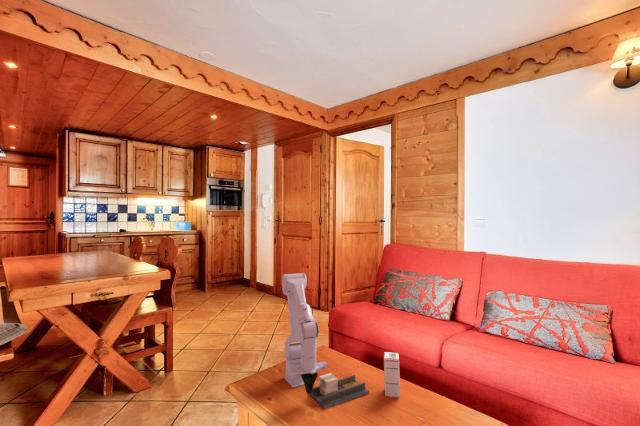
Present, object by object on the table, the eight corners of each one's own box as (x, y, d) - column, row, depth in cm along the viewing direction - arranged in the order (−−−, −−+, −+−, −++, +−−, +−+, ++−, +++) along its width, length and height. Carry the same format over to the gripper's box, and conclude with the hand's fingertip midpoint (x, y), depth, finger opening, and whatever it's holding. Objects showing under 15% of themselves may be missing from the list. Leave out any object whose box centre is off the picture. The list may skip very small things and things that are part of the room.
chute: (308, 392, 121) (308, 385, 121) (351, 379, 131) (351, 372, 131) (324, 409, 111) (324, 400, 111) (369, 393, 121) (369, 385, 121)
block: (319, 392, 120) (319, 376, 120) (330, 388, 122) (330, 373, 122) (326, 398, 116) (326, 382, 116) (337, 394, 118) (337, 378, 118)
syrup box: (400, 397, 118) (400, 359, 118) (384, 396, 119) (383, 357, 119) (399, 389, 123) (399, 352, 124) (384, 388, 125) (383, 351, 125)
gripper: (295, 364, 108) (295, 403, 108) (331, 354, 115) (331, 392, 115) (286, 356, 114) (287, 393, 114) (321, 347, 121) (321, 383, 121)
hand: (308, 392), depth 115 cm, fingers closed
